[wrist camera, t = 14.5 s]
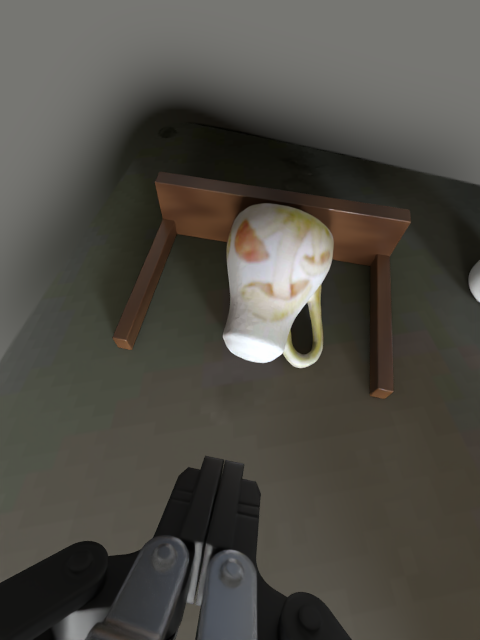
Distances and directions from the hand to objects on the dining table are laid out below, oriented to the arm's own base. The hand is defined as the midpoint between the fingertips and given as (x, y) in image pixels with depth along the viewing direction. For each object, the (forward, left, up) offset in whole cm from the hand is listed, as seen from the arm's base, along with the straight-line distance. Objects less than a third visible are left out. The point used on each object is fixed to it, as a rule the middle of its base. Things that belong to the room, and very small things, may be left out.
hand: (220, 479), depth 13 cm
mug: (+1, +12, -8) cm, 14 cm away
